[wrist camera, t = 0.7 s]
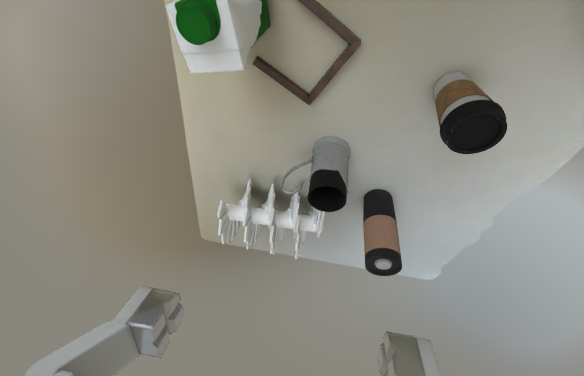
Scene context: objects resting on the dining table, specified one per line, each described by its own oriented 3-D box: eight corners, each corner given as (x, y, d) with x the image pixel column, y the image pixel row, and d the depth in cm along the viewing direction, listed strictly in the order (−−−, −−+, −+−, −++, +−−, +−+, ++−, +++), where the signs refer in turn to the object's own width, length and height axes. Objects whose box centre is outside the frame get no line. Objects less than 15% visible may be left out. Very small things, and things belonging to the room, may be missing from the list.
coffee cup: (437, 61, 48) (460, 105, 37) (488, 67, 47) (526, 113, 37) (418, 105, 54) (433, 154, 43) (463, 112, 53) (489, 162, 43)
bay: (298, -15, 43) (296, -14, 42) (361, 40, 47) (361, 43, 46) (254, 60, 52) (252, 64, 51) (310, 101, 56) (309, 105, 55)
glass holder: (349, 167, 67) (348, 215, 57) (291, 165, 69) (280, 211, 59) (351, 136, 61) (351, 184, 50) (287, 135, 63) (274, 181, 53)
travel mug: (386, 210, 76) (394, 279, 62) (359, 205, 76) (360, 272, 62) (397, 191, 70) (408, 262, 56) (367, 185, 70) (371, 254, 56)
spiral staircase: (320, 202, 83) (237, 189, 83) (331, 182, 66) (227, 166, 66) (313, 264, 77) (224, 251, 77) (323, 260, 61) (209, 243, 61)
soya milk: (267, -34, 42) (224, -4, 28) (276, 32, 48) (245, 83, 34) (213, -27, 44) (147, 4, 30) (228, 36, 50) (181, 86, 36)
